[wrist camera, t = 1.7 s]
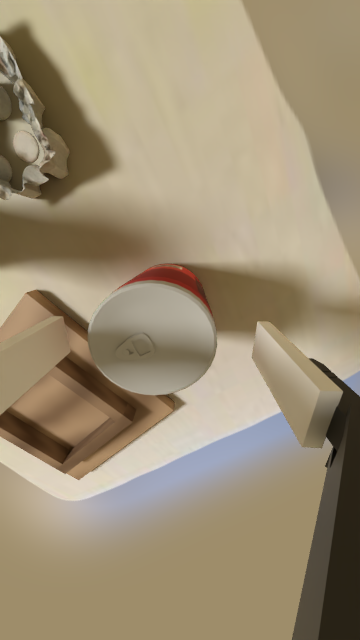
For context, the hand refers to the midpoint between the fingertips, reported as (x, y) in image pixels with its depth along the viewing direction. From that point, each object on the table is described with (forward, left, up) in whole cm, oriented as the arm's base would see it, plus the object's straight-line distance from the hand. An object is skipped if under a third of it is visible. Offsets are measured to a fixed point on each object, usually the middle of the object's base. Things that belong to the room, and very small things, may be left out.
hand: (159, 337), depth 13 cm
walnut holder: (0, -21, -9) cm, 23 cm away
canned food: (0, 0, -9) cm, 9 cm away
